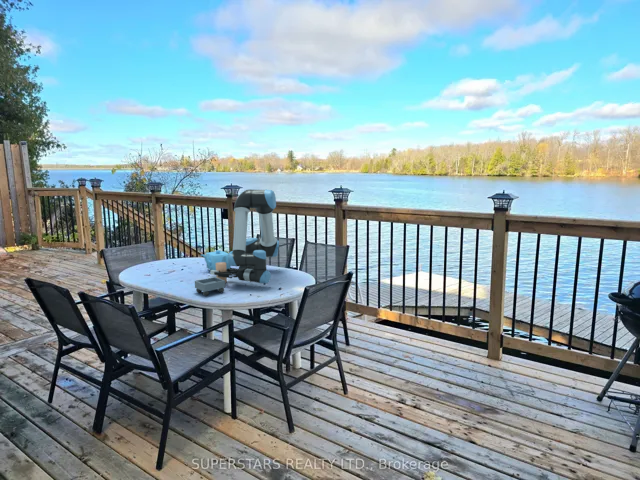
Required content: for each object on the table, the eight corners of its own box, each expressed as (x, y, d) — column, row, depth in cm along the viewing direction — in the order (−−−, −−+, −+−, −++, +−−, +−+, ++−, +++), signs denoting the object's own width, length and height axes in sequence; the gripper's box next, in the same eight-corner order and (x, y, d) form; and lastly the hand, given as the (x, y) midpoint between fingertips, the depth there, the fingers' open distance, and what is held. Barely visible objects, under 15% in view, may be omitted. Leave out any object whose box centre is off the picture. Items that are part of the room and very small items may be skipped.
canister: (223, 280, 251) (222, 261, 249) (228, 282, 246) (228, 263, 244) (214, 281, 246) (213, 263, 244) (219, 283, 242) (219, 264, 240)
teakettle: (211, 267, 288) (210, 247, 285) (236, 268, 285) (235, 248, 283) (200, 273, 269) (199, 252, 267) (226, 275, 267) (226, 253, 264)
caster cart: (215, 288, 235) (215, 276, 234) (225, 292, 227) (225, 280, 226) (195, 292, 226) (194, 280, 224) (204, 297, 218) (204, 284, 217)
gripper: (237, 284, 231) (204, 280, 239) (254, 276, 248) (223, 273, 257) (237, 272, 229) (204, 268, 238) (254, 265, 247) (223, 261, 255)
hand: (214, 270), depth 247 cm, fingers closed on canister, 6 cm apart
